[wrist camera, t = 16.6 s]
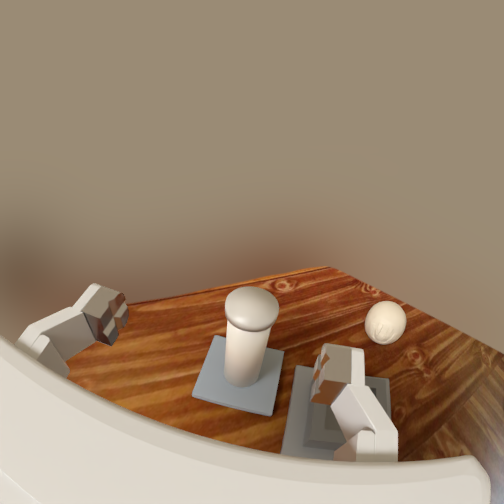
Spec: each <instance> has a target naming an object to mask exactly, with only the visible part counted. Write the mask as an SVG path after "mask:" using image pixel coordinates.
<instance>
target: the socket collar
mask: <svg viewBox="0 0 504 504" xmlns="http://www.w3.org/2000/svg"><path fill="white" fill-rule="evenodd" d="M313 372H314V368H310V367H305V366H300V365H297V366H296V368H295V373H294V379H293V386H292V392H291V398H290V404H289V410H288V415H287V421H286V426H285V432H284V437H283V442H282V448H281V453H280V454H282V455H289V456H296V457H303V458H312V459H321V460H333V458H334V451H336V450H337V449H338V448H340V447H341V446H342V445H344V444H345V443H346V442H347V441H346V439H345V437H344V434H343V432H342V430H341V428H340V426H339V424H338V422H337V419H336V417H335V415H334V413H333V411H332V409H331V405H325V404H319V403H314V402H310V398H311V389H312V386H313V384H314V382H315V380H314V379H313ZM365 386H369V388H370V389H371V391H372V392H373V394H374V395H375V397H376V398H377V400H378V401H379V403H380V404H381V406H382V408H383V409H384V411H385V412H386V414H387V415H388V417H389V418H390V420H391V404H390V388H389V379H387V378H378V377H369V376H365Z"/></svg>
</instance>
